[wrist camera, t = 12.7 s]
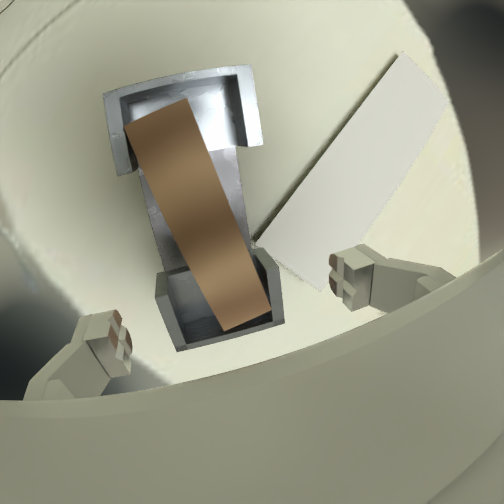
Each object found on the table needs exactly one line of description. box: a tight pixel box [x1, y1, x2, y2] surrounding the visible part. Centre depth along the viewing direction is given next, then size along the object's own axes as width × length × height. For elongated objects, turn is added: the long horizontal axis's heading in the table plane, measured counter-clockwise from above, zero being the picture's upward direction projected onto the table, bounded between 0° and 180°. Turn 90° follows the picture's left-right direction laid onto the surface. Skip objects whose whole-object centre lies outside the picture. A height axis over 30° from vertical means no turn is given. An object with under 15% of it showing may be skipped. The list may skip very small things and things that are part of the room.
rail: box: [124, 98, 272, 331], centre depth 19 cm, size 16×4×4 cm, turn 21°
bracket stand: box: [103, 64, 285, 352], centre depth 23 cm, size 21×10×12 cm, turn 9°
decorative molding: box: [255, 51, 449, 292], centre depth 32 cm, size 34×5×10 cm
